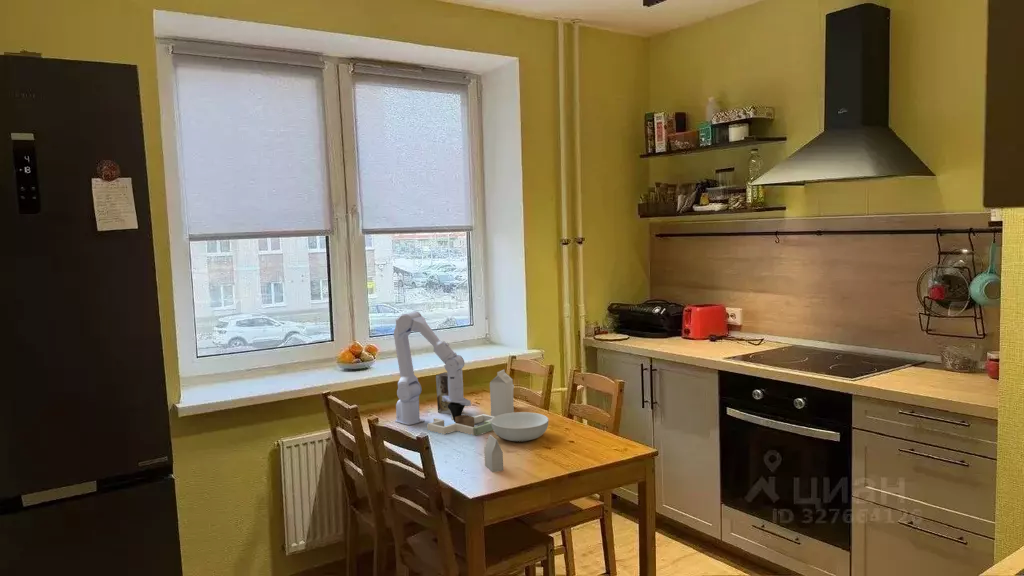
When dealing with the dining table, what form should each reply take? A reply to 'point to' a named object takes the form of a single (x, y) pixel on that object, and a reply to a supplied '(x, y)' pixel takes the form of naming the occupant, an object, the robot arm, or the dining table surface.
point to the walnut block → (465, 420)
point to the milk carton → (501, 394)
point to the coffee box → (442, 392)
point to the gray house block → (493, 455)
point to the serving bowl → (520, 426)
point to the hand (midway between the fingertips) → (457, 421)
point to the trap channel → (463, 426)
